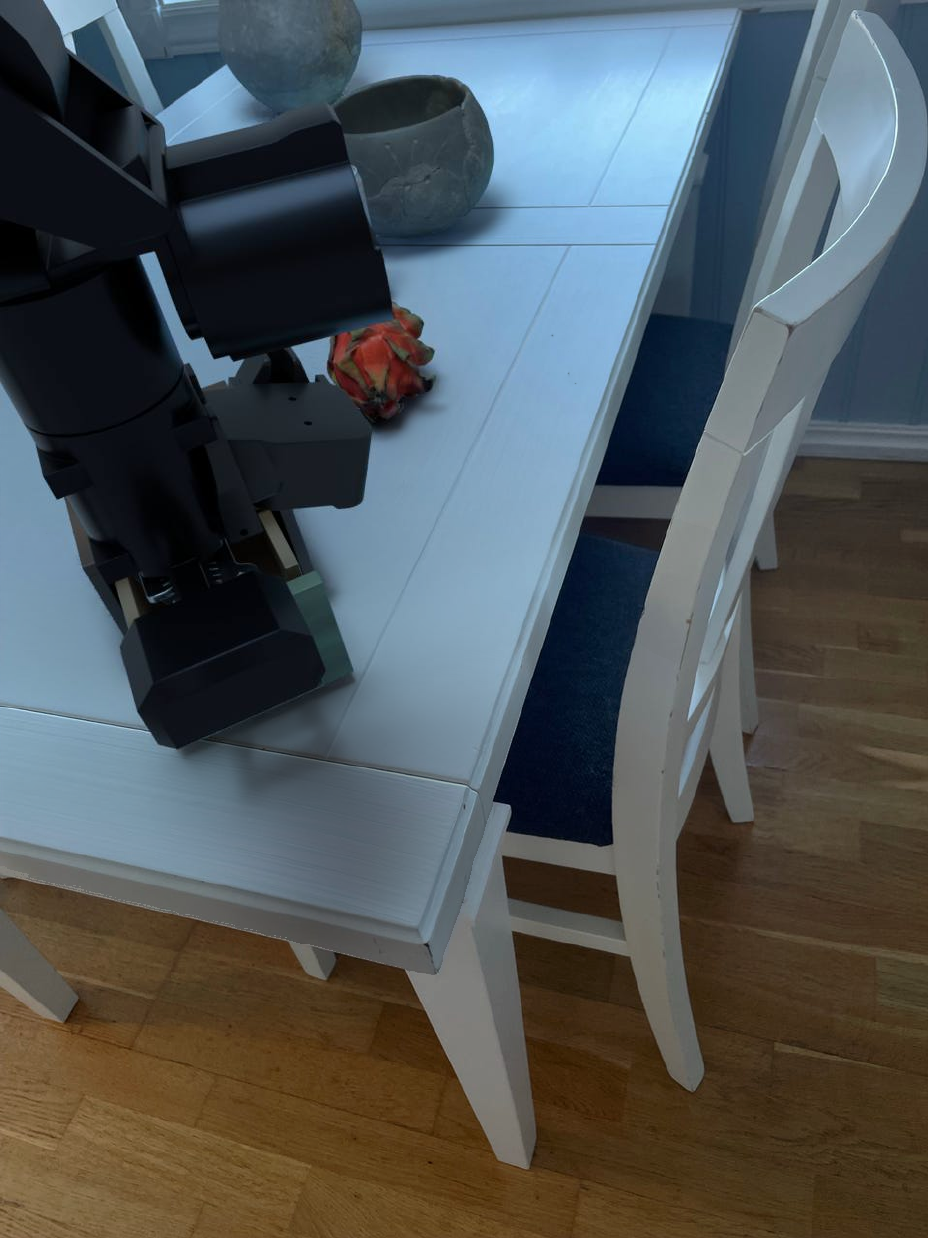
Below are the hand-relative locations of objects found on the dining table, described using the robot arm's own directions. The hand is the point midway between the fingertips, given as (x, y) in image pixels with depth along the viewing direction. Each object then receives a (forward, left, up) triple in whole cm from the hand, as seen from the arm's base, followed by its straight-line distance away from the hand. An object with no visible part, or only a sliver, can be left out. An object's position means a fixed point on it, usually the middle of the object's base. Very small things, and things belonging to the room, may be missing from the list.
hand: (242, 675), depth 44 cm
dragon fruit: (+19, +35, -12) cm, 42 cm away
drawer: (0, +12, -11) cm, 16 cm away
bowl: (+34, +64, -12) cm, 73 cm away
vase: (+37, +111, -12) cm, 118 cm away
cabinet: (0, +23, -12) cm, 26 cm away
